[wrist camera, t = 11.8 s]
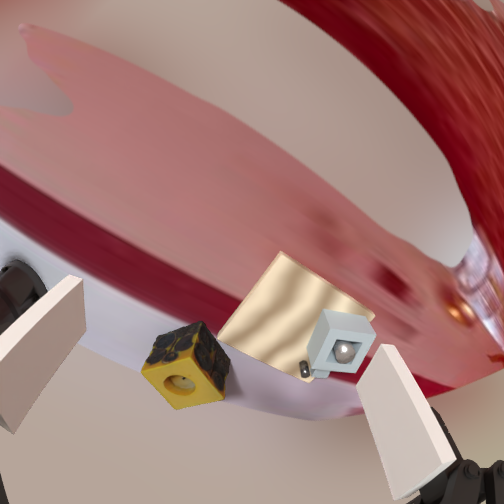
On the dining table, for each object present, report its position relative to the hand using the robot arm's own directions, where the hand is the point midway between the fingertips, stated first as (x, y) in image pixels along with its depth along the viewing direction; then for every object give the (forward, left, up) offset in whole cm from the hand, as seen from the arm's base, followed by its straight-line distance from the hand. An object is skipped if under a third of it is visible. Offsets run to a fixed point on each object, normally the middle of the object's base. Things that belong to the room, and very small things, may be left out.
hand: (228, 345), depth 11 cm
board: (+18, -12, -31) cm, 38 cm away
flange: (+25, -11, -29) cm, 40 cm away
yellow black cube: (+6, -27, -31) cm, 41 cm away
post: (+24, -9, -29) cm, 39 cm away
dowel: (+24, -17, -29) cm, 41 cm away
